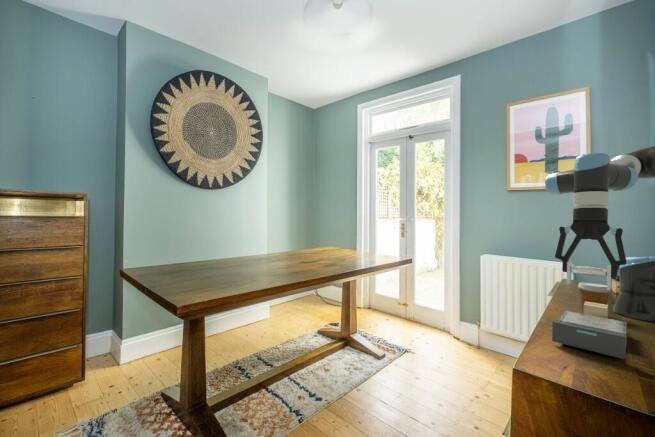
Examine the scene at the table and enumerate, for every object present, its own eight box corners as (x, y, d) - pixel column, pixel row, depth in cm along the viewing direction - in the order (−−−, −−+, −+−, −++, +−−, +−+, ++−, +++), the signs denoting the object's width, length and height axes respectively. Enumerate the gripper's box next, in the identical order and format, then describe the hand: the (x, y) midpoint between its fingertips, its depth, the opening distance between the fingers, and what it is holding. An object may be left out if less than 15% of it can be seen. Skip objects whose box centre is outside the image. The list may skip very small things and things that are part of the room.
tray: (560, 329, 94) (560, 311, 94) (625, 343, 83) (626, 324, 83) (552, 341, 84) (552, 321, 84) (625, 359, 73) (625, 337, 73)
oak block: (585, 320, 106) (585, 301, 106) (607, 325, 102) (608, 305, 102) (583, 324, 102) (583, 304, 102) (607, 329, 97) (607, 308, 98)
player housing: (565, 323, 103) (565, 310, 103) (626, 335, 92) (626, 321, 92) (558, 333, 92) (558, 320, 92) (626, 349, 82) (626, 333, 82)
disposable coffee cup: (576, 310, 119) (577, 280, 119) (609, 315, 113) (609, 284, 113) (577, 315, 112) (578, 284, 112) (612, 321, 106) (612, 288, 106)
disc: (590, 271, 88) (590, 266, 88) (615, 276, 80) (616, 270, 80) (563, 270, 88) (563, 265, 88) (586, 275, 80) (586, 269, 80)
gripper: (642, 208, 79) (640, 291, 79) (548, 208, 94) (546, 278, 94) (643, 206, 74) (641, 295, 74) (543, 207, 89) (541, 281, 89)
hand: (588, 286), depth 84 cm, fingers closed on disc, 8 cm apart
